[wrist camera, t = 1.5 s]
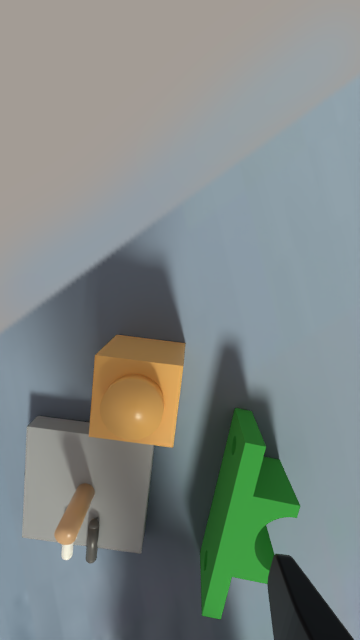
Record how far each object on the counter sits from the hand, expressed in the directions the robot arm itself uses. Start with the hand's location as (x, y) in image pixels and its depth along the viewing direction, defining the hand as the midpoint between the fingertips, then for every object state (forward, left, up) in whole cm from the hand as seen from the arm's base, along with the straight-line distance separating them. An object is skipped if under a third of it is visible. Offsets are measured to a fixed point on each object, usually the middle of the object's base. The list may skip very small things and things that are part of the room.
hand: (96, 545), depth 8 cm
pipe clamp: (-7, -7, -14) cm, 17 cm away
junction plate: (-8, +4, -13) cm, 16 cm away
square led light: (0, +1, -13) cm, 13 cm away
